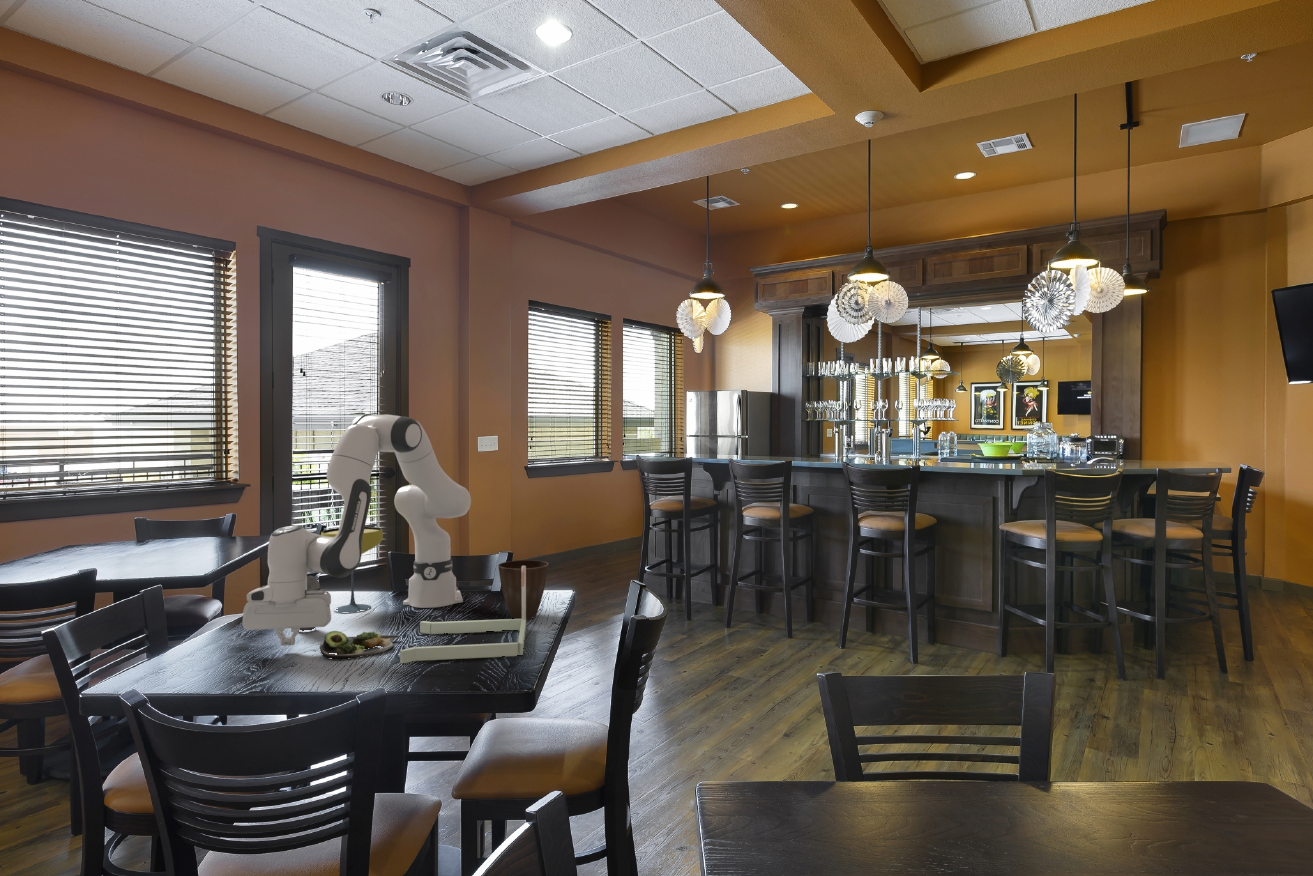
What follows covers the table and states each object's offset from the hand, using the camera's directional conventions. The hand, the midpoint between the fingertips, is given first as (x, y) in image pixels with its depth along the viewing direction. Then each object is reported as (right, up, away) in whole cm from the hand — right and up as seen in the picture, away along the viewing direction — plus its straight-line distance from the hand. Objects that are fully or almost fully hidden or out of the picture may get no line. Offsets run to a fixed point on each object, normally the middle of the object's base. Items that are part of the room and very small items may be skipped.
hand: (287, 645), depth 179 cm
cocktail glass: (-3, -2, +44) cm, 44 cm away
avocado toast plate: (+16, -2, +2) cm, 16 cm away
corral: (+44, -2, +7) cm, 45 cm away
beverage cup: (-5, -2, +20) cm, 20 cm away
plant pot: (+53, -2, +34) cm, 64 cm away
